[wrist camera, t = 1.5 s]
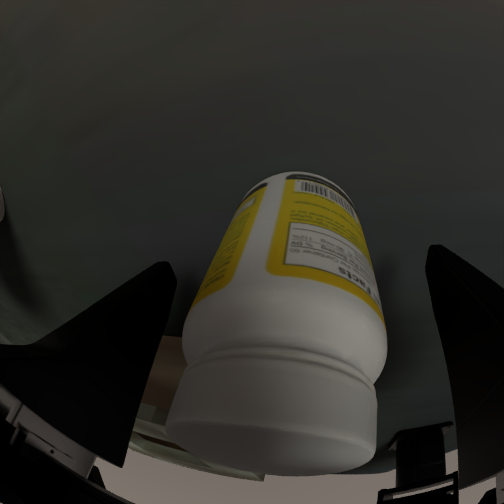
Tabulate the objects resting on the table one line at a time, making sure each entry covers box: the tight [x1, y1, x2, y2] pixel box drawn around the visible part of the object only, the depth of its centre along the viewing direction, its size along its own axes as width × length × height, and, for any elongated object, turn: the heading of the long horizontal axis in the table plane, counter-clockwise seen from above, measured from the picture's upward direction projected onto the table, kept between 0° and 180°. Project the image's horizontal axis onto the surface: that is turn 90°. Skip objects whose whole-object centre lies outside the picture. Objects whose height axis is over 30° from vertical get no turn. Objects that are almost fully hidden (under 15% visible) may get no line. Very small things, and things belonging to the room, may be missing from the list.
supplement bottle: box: [165, 172, 387, 476], centre depth 8 cm, size 5×5×8 cm
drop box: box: [128, 335, 265, 481], centre depth 19 cm, size 14×14×6 cm
